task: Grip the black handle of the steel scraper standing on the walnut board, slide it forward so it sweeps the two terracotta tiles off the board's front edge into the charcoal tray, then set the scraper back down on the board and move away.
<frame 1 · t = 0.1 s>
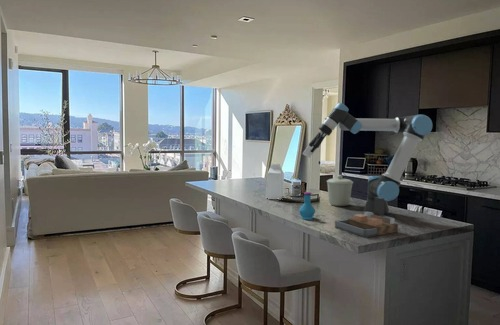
hand: (305, 155, 223), 36 cm above the countertop, tool tilted 35°, fingers open, 13 cm apart
tile 1: (360, 220, 200), point 4 cm above the countertop, touching board
perfume bottle: (306, 218, 221), on the countertop
tile 2: (374, 224, 191), point 4 cm above the countertop, touching board
board: (371, 228, 198), on the countertop
milk: (274, 198, 285), on the countertop
tray: (355, 231, 192), on the countertop
scraper: (378, 220, 200), point 4 cm above the countertop, touching board
canister: (338, 205, 263), on the countertop
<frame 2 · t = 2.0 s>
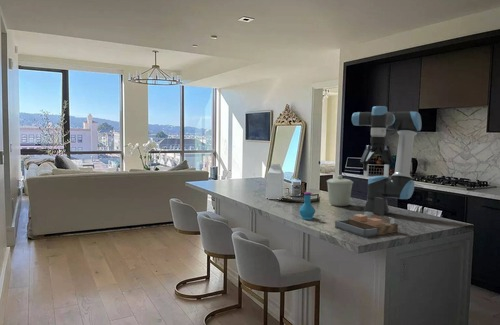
hand: (376, 177, 198), 27 cm above the countertop, tool pointing down, fingers open, 13 cm apart
nothing on the countertop moved.
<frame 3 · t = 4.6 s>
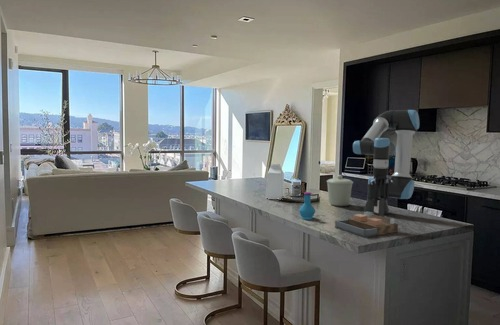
hand: (378, 212, 199), 9 cm above the countertop, tool pointing down, fingers closed on scraper, 3 cm apart
scraper: (378, 220, 200), point 4 cm above the countertop, touching board, gripper
everything else where it was.
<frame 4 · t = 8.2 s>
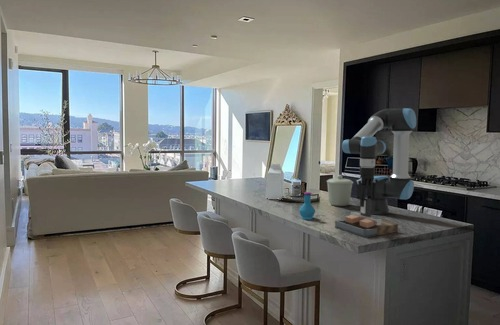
hand: (365, 212, 195), 9 cm above the countertop, tool pointing down, fingers closed on scraper, 3 cm apart
tile 1: (352, 221, 198), point 4 cm above the countertop, tilted 6°
tile 2: (367, 225, 189), point 4 cm above the countertop, tilted 5°, touching board, scraper
scraper: (365, 221, 195), point 5 cm above the countertop, touching gripper, tile 2
everything else where it was.
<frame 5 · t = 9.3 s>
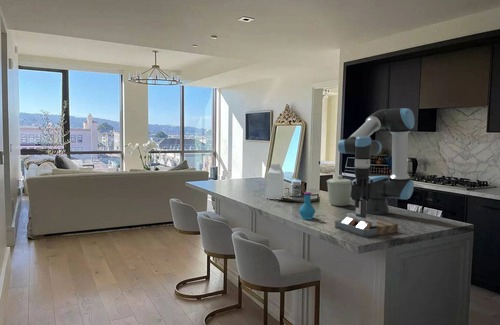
hand: (360, 213, 193), 9 cm above the countertop, tool pointing down, fingers closed on scraper, 3 cm apart
tile 1: (348, 224, 197), point 2 cm above the countertop, tilted 34°, touching scraper, tray
tile 2: (363, 228, 188), point 2 cm above the countertop, tilted 36°, touching scraper, tray
scraper: (360, 222, 193), point 4 cm above the countertop, touching gripper, tile 2, tile 1
everything else where it was.
when the fingers open (9 cm above the countertop, at t = 12.0 s): scraper stays where it is, resting on board.
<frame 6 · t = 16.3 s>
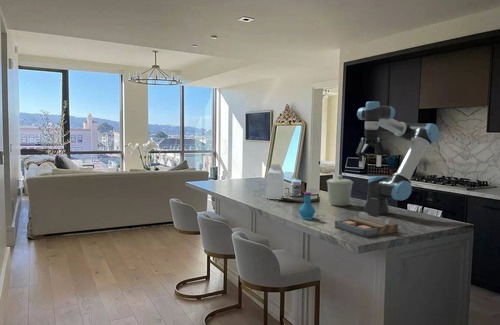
hand: (370, 167, 214), 31 cm above the countertop, tool pointing down, fingers open, 13 cm apart
tile 1: (349, 227, 197), point 1 cm above the countertop, touching tray
tile 2: (364, 231, 188), point 1 cm above the countertop, touching tray
scraper: (373, 221, 198), point 4 cm above the countertop, touching board
everything else where it was.
at the end: tile 2 inside the target area on the tray (5.4 cm from its centre), point 1.0 cm above the tray's base; tile 1 inside the target area on the tray (5.3 cm from its centre), point 1.0 cm above the tray's base; scraper inside the target area on the board (0.5 cm from its centre), point 4.0 cm above the board's base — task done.
